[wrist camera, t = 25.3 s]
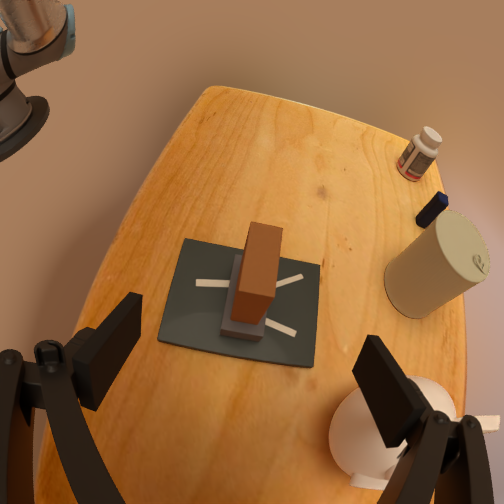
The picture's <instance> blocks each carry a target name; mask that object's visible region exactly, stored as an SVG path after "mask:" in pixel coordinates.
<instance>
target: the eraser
mask: <svg viewBox="0 0 504 504" xmlns="http://www.w3.org/2000/svg"><path fill="white" fill-rule="evenodd" d="M447 206H448V196H447V195H445V194H443V193H442V192H440V191H438V192H437V193H436V194H435V196H434V197H433V198H432V199H431V200H430V202H429V203H428V204H427V205H426V206H425V207H424V208H423V209H422V210H421V211H420V213H419V214H418V215H417V216H416V223H417V225H419V226H420V227H423V228H426V227H428V226H429V225H430V224H431V223H432V222H433V221H434V220H435V219H436V217H437V216H438V215H439V214H440V213H441V212H442V211H443V210H445V209H446V207H447Z"/></svg>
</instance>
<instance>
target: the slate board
mask: <svg viewBox="0 0 504 504" xmlns="http://www.w3.org/2000/svg"><path fill="white" fill-rule="evenodd" d="M243 252H244V250H242V249H237V248H232V247H227V246H222V245H217V244H212V243H207V242H202V241H197V240H192V239H187V238H185V239H184V242H183V245H182V249H181V252H180V255H179V259H178V262H177V266H176V269H175V273H174V276H173V280H172V283H171V287H170V291H169V294H168V298H167V302H166V306H165V310H164V313H163V317H162V321H161V325H160V329H159V333H158V337H157V340H158V341H159V342H163V343H168V344H172V345H176V346H180V347H185V348H189V349H194V350H199V351H204V352H208V353H213V354H219V355H224V356H229V357H235V358H241V359H247V360H253V361H259V362H266V363H272V364H280V365H287V366H295V367H303V368H312V367H313V365H314V355H315V343H316V330H317V316H318V299H319V280H320V265H317V264H312V263H307V262H302V261H297V260H292V259H287V258H282V257H280V258H279V266H278V275H277V283H276V291H275V297H274V299H273V301H272V302H271V304H270V306H269V307H268V309H267V314H266V322H265V329H264V336H263V338H262V339H261V340H260V341H259V342H255V341H250V340H244V339H239V338H233V337H228V336H223V335H220V330H221V324H222V319H223V314H224V309H225V304H226V298H227V293H228V288H229V283H230V278H231V273H232V268H233V263H234V258H235V254H238V255H243Z"/></svg>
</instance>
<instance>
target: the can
mask: <svg viewBox="0 0 504 504" xmlns="http://www.w3.org/2000/svg"><path fill="white" fill-rule="evenodd" d="M489 269H490V258H489V254H488V249H487V247H486V244H485V242H484V240H483V238H482V236H481V234H480V233H479V231H478V230H477V228H476V227H475V226H474V225H473V224H472V223H471V222H470V221H469V220H468V219H467V218H466V217H464V216H463V215H462V214H460V213H458V212H455V211H452V210H446V211H443V212H441V213H440V214H439V215H438V216H437V218H436V219H435V220H434V221H433V222H432V223H431V224H430V225H429V227H428V228H427V229H426V230H425V231H424V232H423V233H422V234H421V235H420V236H419V237H418V238H417V239H416V240H415V241H414V242H413V243H412V244H410V245H409V246H408V247H407V248H406V249H405V250H404V251H403V252H402V253H401V254H400V255H399V256H397V257H396V258H394V259H393V260H392V261H391V262H390V263H389V264H388V266H387V268H386V271H385V276H384V282H385V288H386V292H387V295H388V297H389V299H390V301H391V302H392V304H393V305H394V306H395V308H396V309H397V310H398V311H399V312H401V313H402V314H404V315H405V316H407V317H410V318H415V319H419V318H423V317H425V316H427V315H428V314H429V313H431V312H432V311H434V310H435V309H437V308H439V307H440V306H442V305H444V304H445V303H447V302H449V301H450V300H452V299H454V298H455V297H457V296H459V295H460V294H462V293H463V292H465V291H466V290H468V289H470V288H471V287H473V286H475V285H476V284H478V283H480V282H482V281H484V280H485V278H486V277H487V276H488V273H489Z"/></svg>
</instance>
